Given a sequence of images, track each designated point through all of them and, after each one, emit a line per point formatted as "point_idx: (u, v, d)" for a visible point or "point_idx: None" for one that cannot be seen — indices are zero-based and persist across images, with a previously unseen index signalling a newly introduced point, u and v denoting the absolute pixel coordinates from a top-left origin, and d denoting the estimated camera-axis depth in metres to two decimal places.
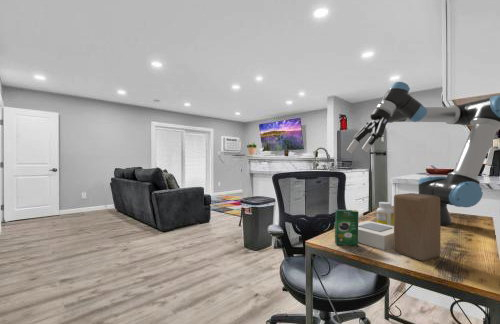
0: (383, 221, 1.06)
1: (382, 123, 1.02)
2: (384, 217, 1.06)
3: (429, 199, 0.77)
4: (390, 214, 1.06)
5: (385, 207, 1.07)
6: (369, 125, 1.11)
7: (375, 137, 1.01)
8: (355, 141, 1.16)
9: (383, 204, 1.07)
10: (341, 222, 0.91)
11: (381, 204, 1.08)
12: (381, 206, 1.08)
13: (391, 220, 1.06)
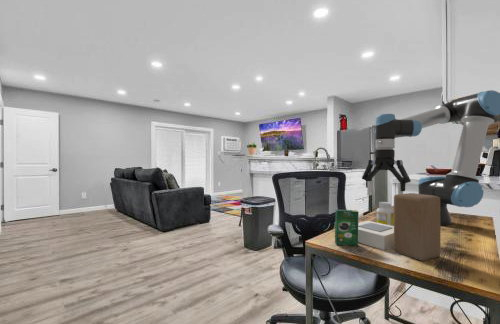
0: (383, 221, 1.06)
1: (401, 166, 1.02)
2: (384, 217, 1.06)
3: (429, 199, 0.77)
4: (390, 214, 1.06)
5: (385, 207, 1.07)
6: None
7: (404, 183, 1.02)
8: (370, 182, 1.14)
9: (383, 204, 1.07)
10: (341, 222, 0.91)
11: (381, 204, 1.08)
12: (381, 206, 1.08)
13: (391, 220, 1.06)
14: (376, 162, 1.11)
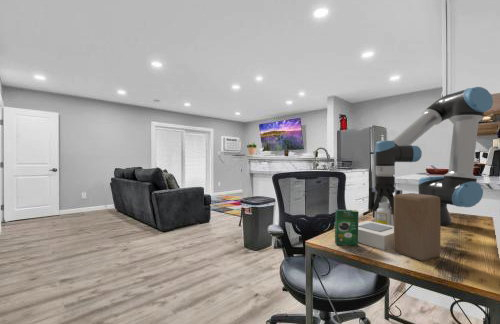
0: (383, 221, 1.06)
1: None
2: (384, 217, 1.06)
3: (429, 199, 0.77)
4: (390, 214, 1.06)
5: (385, 207, 1.07)
6: None
7: None
8: None
9: (383, 204, 1.07)
10: (341, 222, 0.91)
11: (381, 204, 1.08)
12: (381, 206, 1.08)
13: None
14: (376, 188, 1.11)
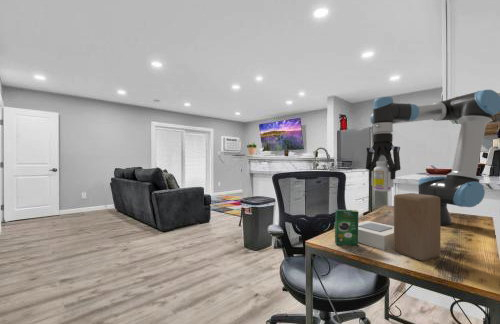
0: (379, 179, 1.04)
1: (396, 153, 1.01)
2: (381, 174, 1.04)
3: (429, 199, 0.77)
4: (387, 172, 1.03)
5: (382, 165, 1.05)
6: None
7: (394, 171, 1.02)
8: None
9: (380, 162, 1.05)
10: (341, 222, 0.91)
11: (378, 162, 1.05)
12: (378, 164, 1.06)
13: None
14: (374, 147, 1.08)
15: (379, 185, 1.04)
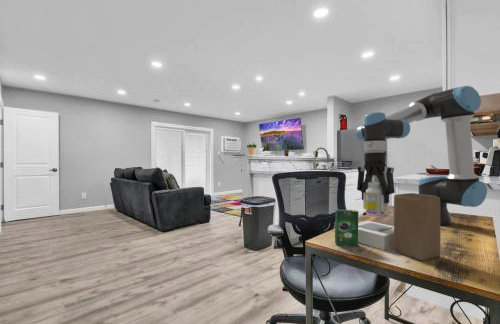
0: (372, 202, 0.95)
1: (390, 175, 0.92)
2: (373, 198, 0.94)
3: (429, 199, 0.77)
4: (380, 195, 0.94)
5: (375, 187, 0.95)
6: None
7: (388, 195, 0.93)
8: None
9: (372, 184, 0.96)
10: (341, 222, 0.91)
11: (370, 184, 0.96)
12: (370, 186, 0.96)
13: None
14: (366, 167, 0.99)
15: (372, 210, 0.95)
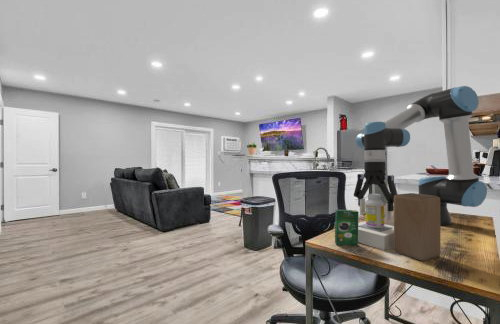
0: (372, 215, 0.95)
1: (391, 183, 0.91)
2: (373, 210, 0.95)
3: (429, 199, 0.77)
4: (380, 207, 0.94)
5: (374, 199, 0.95)
6: None
7: (392, 203, 0.91)
8: (362, 201, 1.01)
9: (372, 196, 0.96)
10: (341, 222, 0.91)
11: (370, 196, 0.96)
12: (370, 198, 0.96)
13: (381, 214, 0.94)
14: (365, 175, 0.99)
15: (371, 222, 0.95)
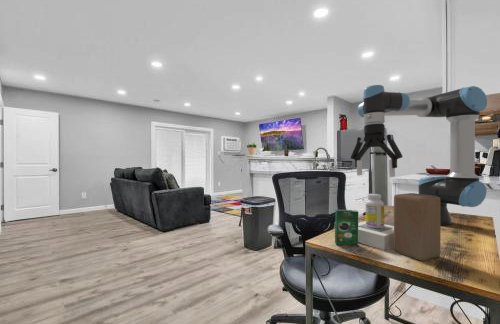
0: (372, 215, 0.95)
1: (392, 141, 0.94)
2: (373, 210, 0.95)
3: (429, 199, 0.77)
4: (380, 207, 0.94)
5: (375, 199, 0.95)
6: None
7: (396, 159, 0.93)
8: (359, 162, 1.05)
9: (372, 196, 0.96)
10: (341, 222, 0.91)
11: (370, 196, 0.96)
12: (370, 198, 0.96)
13: (381, 214, 0.94)
14: (365, 139, 1.02)
15: (372, 222, 0.95)
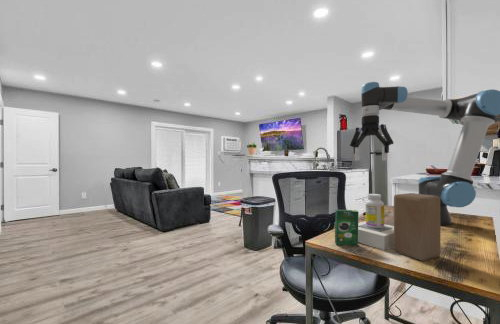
0: (372, 215, 0.95)
1: (385, 130, 1.10)
2: (373, 210, 0.95)
3: (429, 199, 0.77)
4: (380, 207, 0.94)
5: (375, 199, 0.95)
6: None
7: (388, 145, 1.09)
8: (357, 149, 1.22)
9: (372, 196, 0.96)
10: (341, 222, 0.91)
11: (370, 196, 0.96)
12: (370, 198, 0.96)
13: (381, 214, 0.94)
14: (362, 129, 1.18)
15: (371, 222, 0.95)
